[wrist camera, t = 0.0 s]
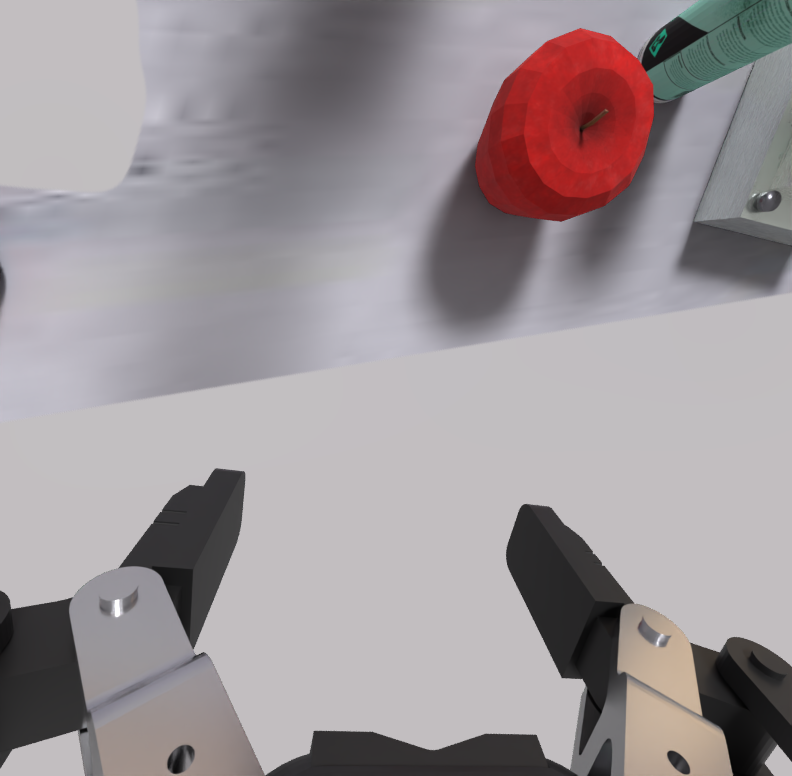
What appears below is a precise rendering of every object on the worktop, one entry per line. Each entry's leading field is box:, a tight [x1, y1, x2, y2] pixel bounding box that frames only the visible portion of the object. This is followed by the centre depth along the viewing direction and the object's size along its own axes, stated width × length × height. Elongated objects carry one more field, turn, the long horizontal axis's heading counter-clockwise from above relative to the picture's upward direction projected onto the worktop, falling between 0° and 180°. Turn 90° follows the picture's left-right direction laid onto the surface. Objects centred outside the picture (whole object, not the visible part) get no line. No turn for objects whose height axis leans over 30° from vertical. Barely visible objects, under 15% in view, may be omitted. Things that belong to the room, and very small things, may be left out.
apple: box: [475, 28, 654, 222], centre depth 29 cm, size 11×10×14 cm
